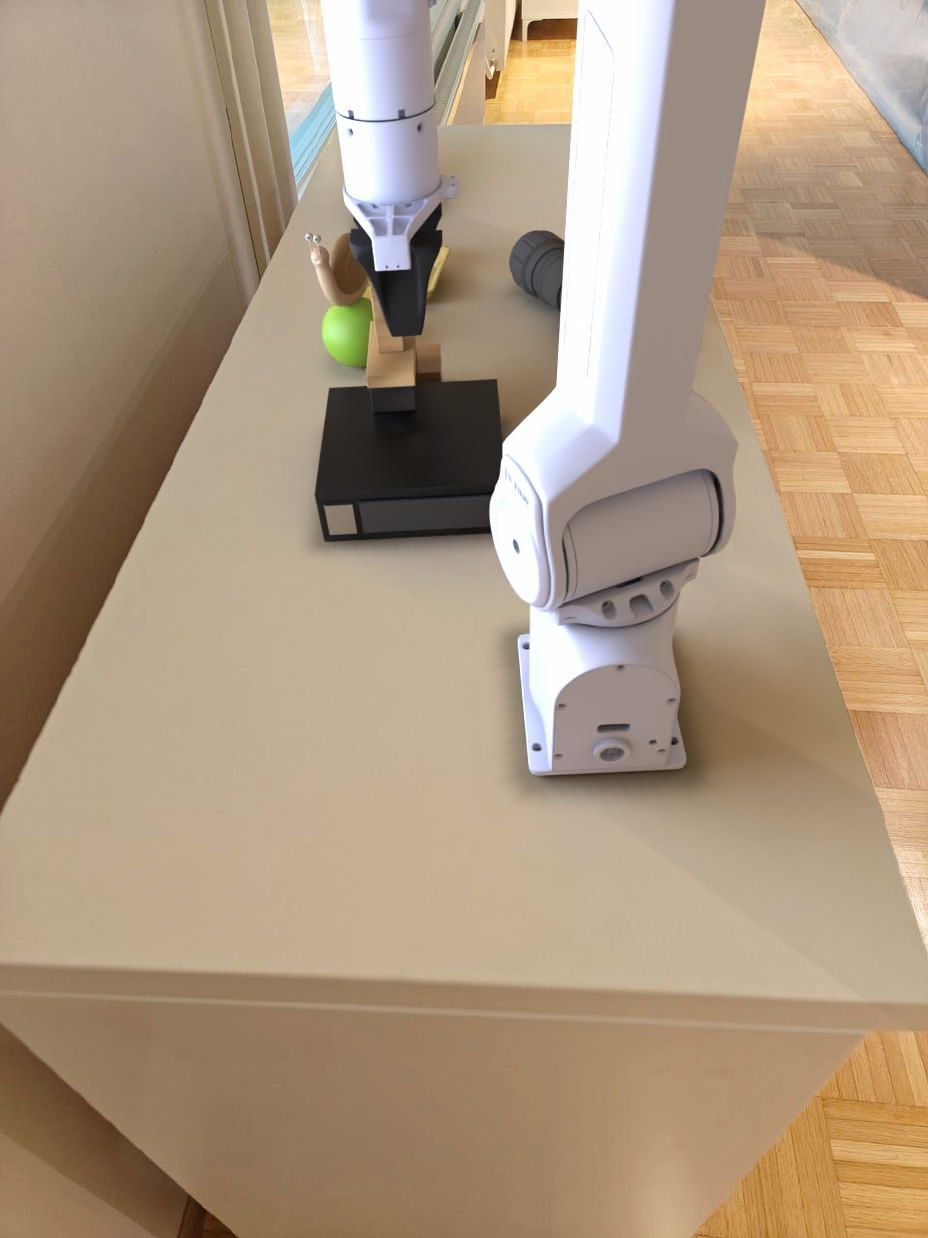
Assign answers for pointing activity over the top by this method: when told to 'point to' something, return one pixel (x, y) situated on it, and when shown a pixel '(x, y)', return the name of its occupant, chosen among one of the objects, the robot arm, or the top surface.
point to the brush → (390, 366)
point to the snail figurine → (343, 301)
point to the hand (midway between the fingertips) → (406, 324)
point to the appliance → (410, 463)
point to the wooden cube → (429, 363)
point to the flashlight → (539, 265)
